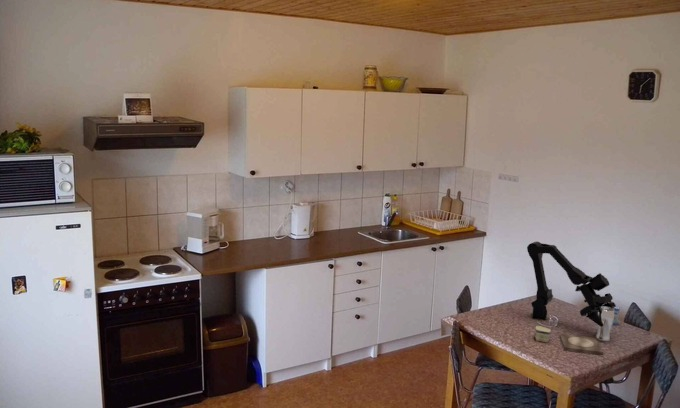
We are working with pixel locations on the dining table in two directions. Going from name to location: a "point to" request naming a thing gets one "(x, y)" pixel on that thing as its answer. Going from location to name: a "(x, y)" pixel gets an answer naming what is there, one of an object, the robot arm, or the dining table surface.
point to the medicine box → (616, 315)
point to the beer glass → (605, 323)
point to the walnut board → (581, 344)
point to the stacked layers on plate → (542, 334)
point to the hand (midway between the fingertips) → (607, 325)
